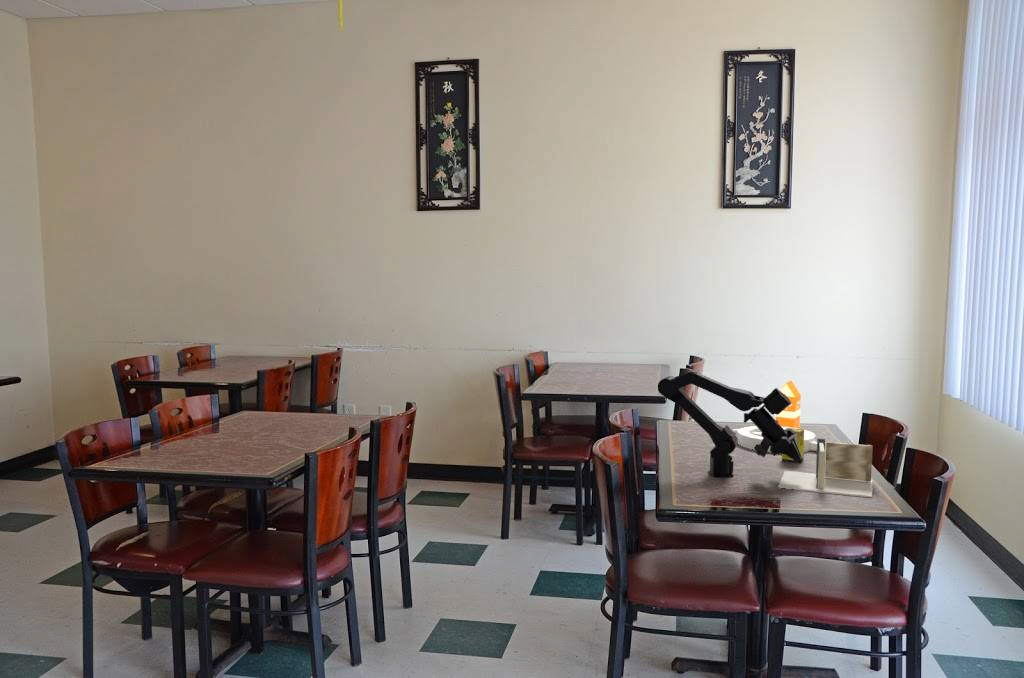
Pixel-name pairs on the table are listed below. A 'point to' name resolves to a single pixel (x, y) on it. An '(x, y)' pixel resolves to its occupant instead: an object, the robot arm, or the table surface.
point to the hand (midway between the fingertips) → (801, 462)
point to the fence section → (846, 460)
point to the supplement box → (800, 443)
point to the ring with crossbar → (753, 436)
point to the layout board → (825, 484)
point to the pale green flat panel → (821, 466)
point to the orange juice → (790, 407)
